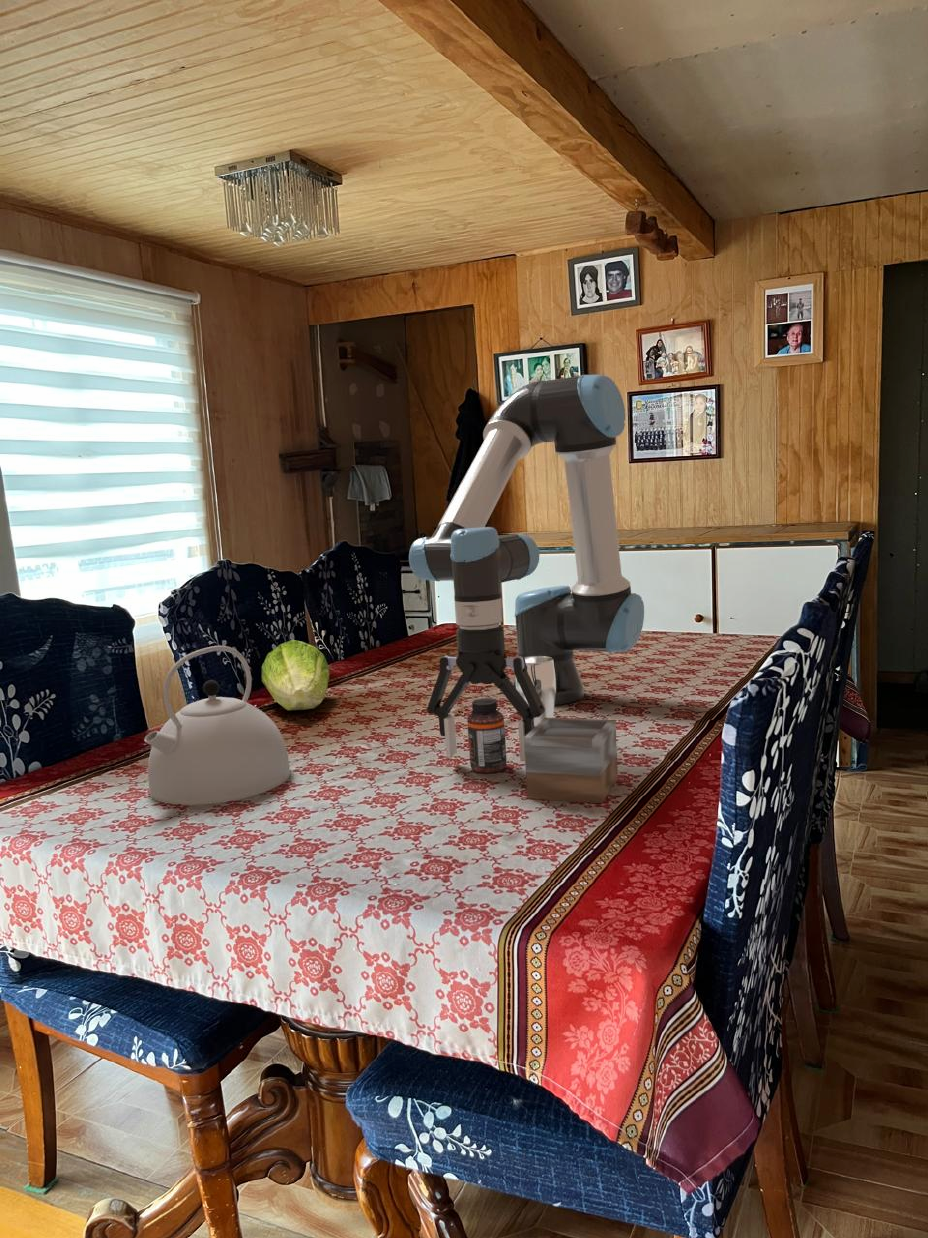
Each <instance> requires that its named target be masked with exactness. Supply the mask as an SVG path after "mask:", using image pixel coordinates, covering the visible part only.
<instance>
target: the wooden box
mask: <svg viewBox="0 0 928 1238" xmlns="http://www.w3.org/2000/svg"><path fill="white" fill-rule="evenodd" d="M616 725H617V724H616V720H615V719H599V718H597V719H592V718H590V719H589V718H563V717H553V718H544V719H543V720H542V721H541V722H540V723H539V724H538V725H537V726H536V727H535V728H533V729H532V730H531V731H530V732H529V733H528V734H527V735H526V736H525V737H524V749H525V762H524V763H525V764H524V765H525V766H524V767H525V776H526V777H525V781H526V782H525V783H526V798H527V799H529V800H532V799H534V800H547V801H549V800H550V801H562V802H563V801H564V802H575V803H590V804H591V803H592V804H602V803H603V802H604V801H605V799H606V797H607V796H608V794H609V793H610V792H611V790H612V789H613V787H614V785H615V784H616V782H617V781H618V780H619V774H618V773H619V772H618V771H619V770H618V751H617V750H618V749H617V746H618V745H617V726H616Z"/></svg>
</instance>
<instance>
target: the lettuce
mask: <svg viewBox="0 0 928 1238" xmlns="http://www.w3.org/2000/svg"><path fill="white" fill-rule="evenodd" d="M329 681H330V667H329V665H328V662H327V660H326V657H325V655H324V654H323V653H322V652H321V651H320V650H319V649H318V648H317V647H316V646H314V645H311V644H309V643H306V642H304V641H300V640H295V639H291V640H289V641H286V642H283V643H281V644H279V645H278V646H277V647H275V648H273V650H271V651H270V652H268V653H267V655H266V657H265V659H264V662H263V663H262V666H261V682H262V683H263V685H264V686H265V688H266V689H267V691H268V692H269V693H270V694H269V695H270V696H271V697H272V699H274V701H275V702H276V703H278V704H279V705H280V706H281V707H283V708H284V709H285V710H287V711H304V710H305V711H306V710H311V709H315V708H317V707H318V706H319V705H320V704H321V703H322V702H323V700H324V699H325V695H326V693H327V691H328V684H329Z"/></svg>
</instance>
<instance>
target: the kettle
mask: <svg viewBox="0 0 928 1238" xmlns="http://www.w3.org/2000/svg"><path fill="white" fill-rule="evenodd" d="M219 651H221V652H227V653H230V654H233V655H234V656H236V658H237V659H238V660H239V661H240V662H241V664H242V666H243V669H244V672H245V676H246V686H245V687H246V688H245V692H244V695H243V696H242V700H241V699H238V698H235V697H226V696H224V697H223V696H217V694H218V693H219V692H220V684H219V683H218V682H217V680H214V679H210V680H207V681H206V682H204V683H203V685H202V690H203V693H204V694H205V695H206V696H207V697H208V698H202V699H200V700H196V701H194V702H191V703H189V704H187V705H185V706H184V707H182V708H181V709H179V710H178V711H177V712H176V713H175V711H174V710H173V708H172V705H171V701H170V700H171V699H170V686H171V682H172V679H173V676H174V675H175V673H176V671H178V669H179V668H180V667H181V666H182V665H184V664H185V663H186V662H187V661H190V660H191V659H193V658H195V657H198V656H201V655H204V654H207V653H211V652H219ZM251 689H252V674H251V669H250V667H249V664H248V661H247V659H246V658H245V657H244V655H242V653H240V652H239V651H238V650H237V649H235V648H233V647H230V646H227V645H214V646H213V645H212V646H209V647H204V648H200V649H198V650H195V651H192V652H190V653H188V654H186V655H185V656H183V657H181V658H180V659H178V661H176V662H175V663H174V665H173V666H172V667H171V668H170V670H169V671H168V673H167V675H166V678H165V680H164V686H163V700H164V706H165V709H166V712H167V714H168V715H169V717H170V718H169V719H168V720H167V721H166V723H165V724H164V725H163V726H162V727H161V729H160V730H159V731H157V730H155V731H152V732H149V733H148V734H146V736H145V737H144V742H145V743H147V744H149V745H150V746H151V748H150V751H149V756H148V763H147V776H148V777H147V778H148V788H149V789H148V794H149V796H150V797H151V798H152V799H153V798H154V799H153V800H155V801H157V802H160V801H161V803H164V804H169V803H170V805H178V804H181V805H180V806H196V805H197V806H199V805H210V804H211V805H212V803H213V804H214V805H215V804H220V803H228V802H232V801H237V800H241V799H247V798H250V797H253V796H257V795H260V794H264V793H266V792H268V791H270V790H274V789H275V788H277V787H280V785H282V784H284V783H285V782H286V781H287V780H289V778H290V776H291V774H292V773H291V769H290V760H289V754H288V749H287V745H286V742H285V739H284V737H283V735H282V733H281V732H280V730H279V728H278V726H277V725H276V723H275V722H274V721H273V719H271V718H270V717H269V716H268V715H267V714H266V713H264V712H263V711H262V710H261V709H259V708H258V707H256V706H255V705H252V704H250V703H248V700H249V697H250V693H251Z"/></svg>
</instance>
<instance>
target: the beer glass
mask: <svg viewBox="0 0 928 1238" xmlns="http://www.w3.org/2000/svg"><path fill="white" fill-rule="evenodd" d="M525 663H526V670H527V672H528V674H529V676H530V678H531V681H532V683H533V685H534V687H535V689H536V691H537V693H538V695H539V697H540V700H541V702H542V704H543V706H544V708H545V712H544V713H543V714H542V715H541V716H539V717H536V718H534V728H535V727H536V726H537V725H538V724H539V723H540V722H541V721H542V720H543V719H544V718H554V712H555V711H554V710H555V706H556V705H555V696H556V678H555V669H554V662H553V658H552V657H548V656H529V657H525ZM516 689H517V691H518V692H519V693H520V695H521V696H522V697H523V698H524V700H525V701H526V702H527V700H526V698H525V695H524V693H523V691H522V689H521V687H520V685H519V683H518V681H517V679H516ZM527 704H528V702H527ZM528 705H529V704H528Z"/></svg>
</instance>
